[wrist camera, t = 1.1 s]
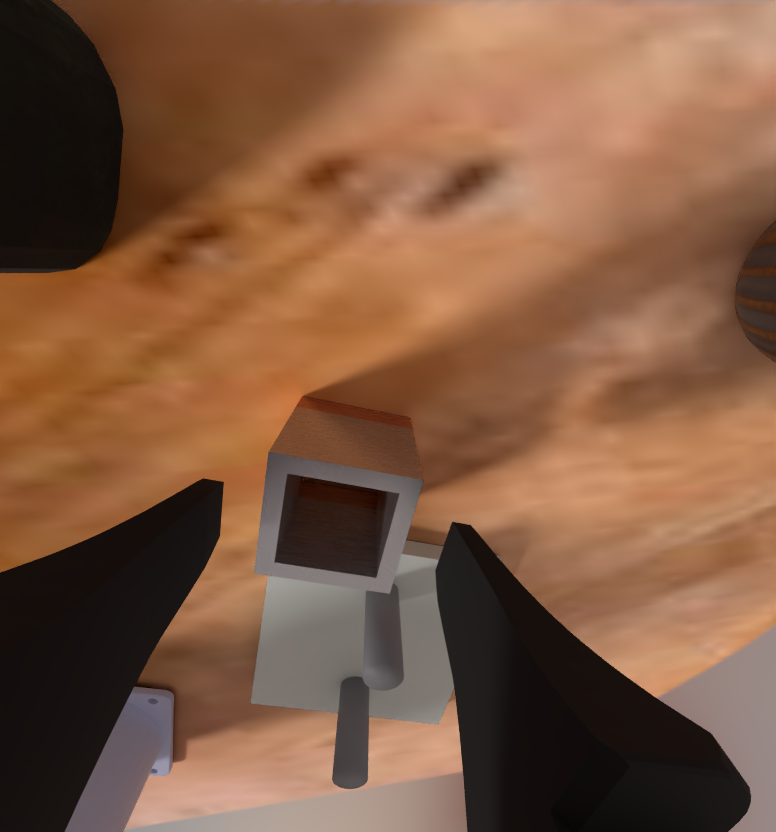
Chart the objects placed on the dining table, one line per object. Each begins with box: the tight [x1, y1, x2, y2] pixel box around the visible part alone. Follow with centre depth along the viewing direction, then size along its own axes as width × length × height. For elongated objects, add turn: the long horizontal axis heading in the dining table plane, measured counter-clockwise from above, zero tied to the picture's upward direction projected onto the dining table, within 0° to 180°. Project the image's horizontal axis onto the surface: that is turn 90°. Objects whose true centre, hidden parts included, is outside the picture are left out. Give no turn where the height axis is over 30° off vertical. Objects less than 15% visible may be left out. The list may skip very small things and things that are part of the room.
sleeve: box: [254, 396, 424, 594], centre depth 14 cm, size 5×5×5 cm
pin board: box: [251, 540, 502, 789], centre depth 18 cm, size 11×12×5 cm
